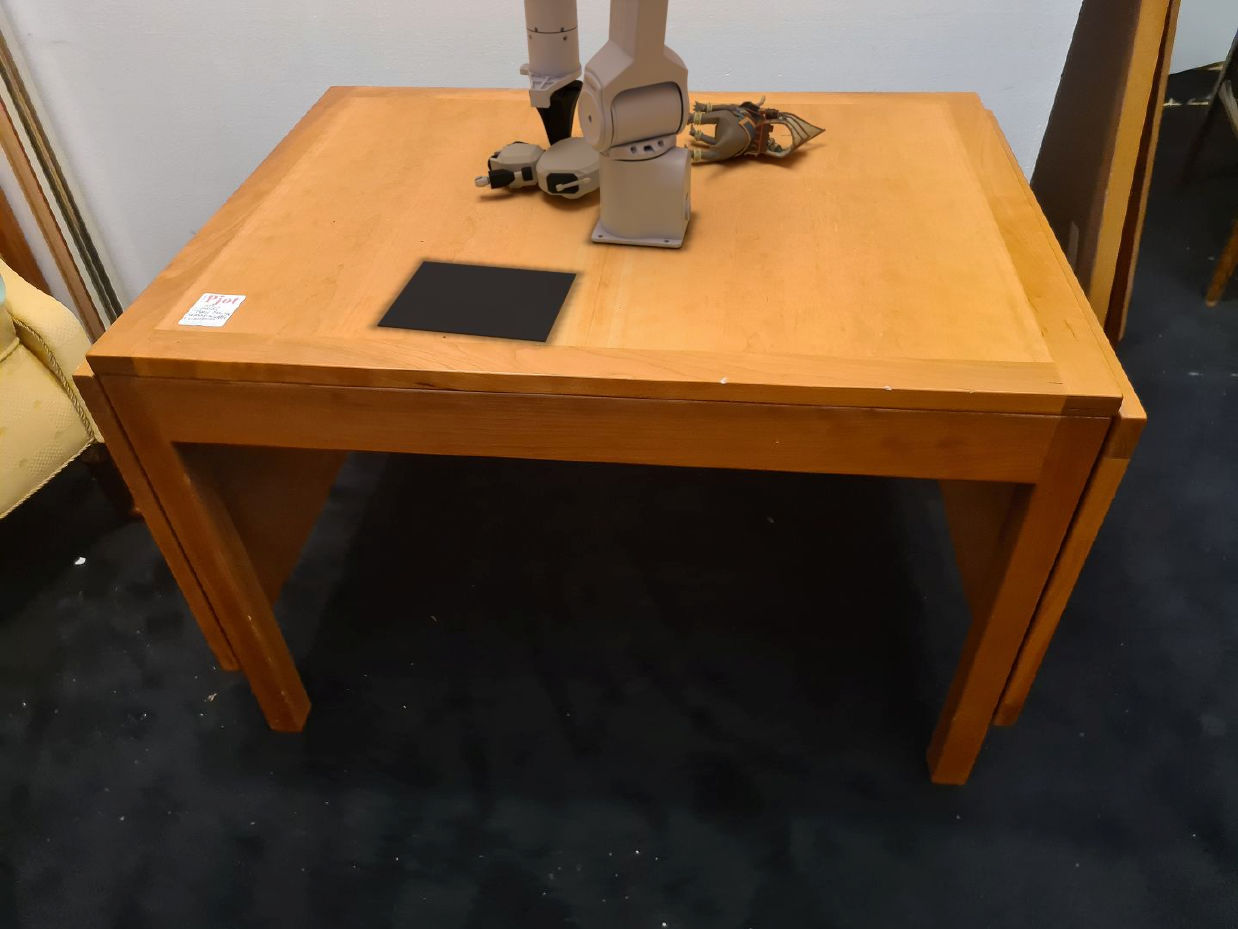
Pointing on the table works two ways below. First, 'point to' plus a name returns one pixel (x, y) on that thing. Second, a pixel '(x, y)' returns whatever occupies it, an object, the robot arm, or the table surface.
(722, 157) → the leather gauntlet glove
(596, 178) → the robot toy
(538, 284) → the mat
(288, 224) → the table surface
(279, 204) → the table surface
